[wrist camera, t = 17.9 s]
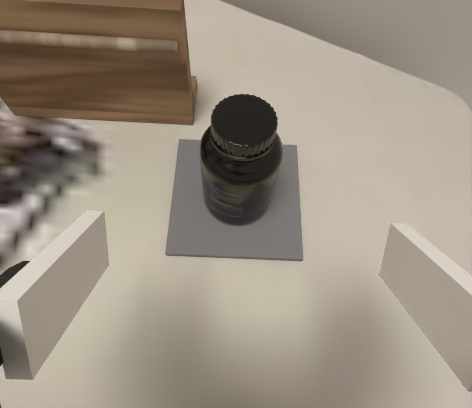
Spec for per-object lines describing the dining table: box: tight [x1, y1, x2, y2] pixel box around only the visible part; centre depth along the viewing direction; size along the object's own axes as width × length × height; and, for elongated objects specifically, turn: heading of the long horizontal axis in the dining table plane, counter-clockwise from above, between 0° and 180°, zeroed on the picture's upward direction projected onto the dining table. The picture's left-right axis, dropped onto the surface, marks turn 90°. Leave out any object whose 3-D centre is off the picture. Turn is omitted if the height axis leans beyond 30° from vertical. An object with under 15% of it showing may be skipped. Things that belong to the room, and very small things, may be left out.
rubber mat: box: [166, 139, 303, 261], centre depth 35 cm, size 13×13×1 cm
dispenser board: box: [0, 0, 197, 125], centre depth 33 cm, size 7×20×14 cm, turn 88°
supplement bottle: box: [199, 94, 283, 225], centre depth 29 cm, size 7×7×12 cm
